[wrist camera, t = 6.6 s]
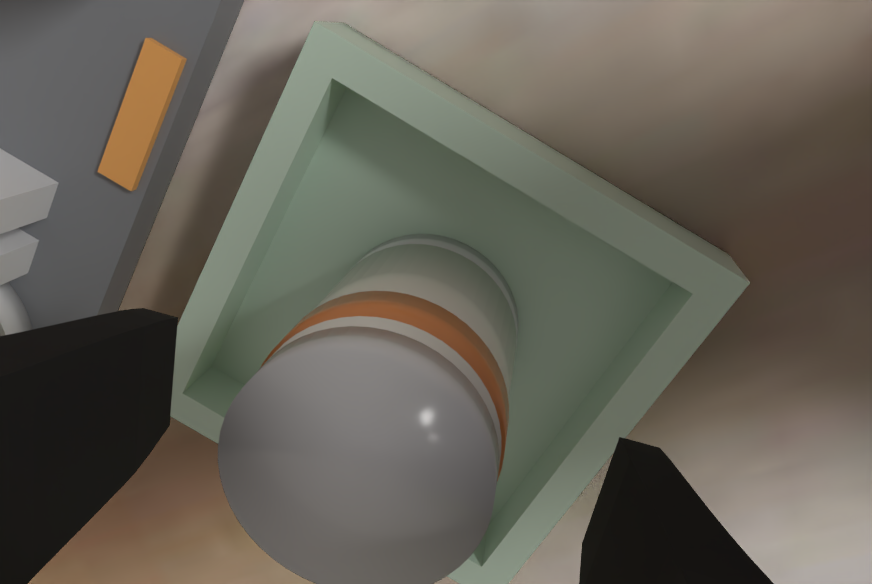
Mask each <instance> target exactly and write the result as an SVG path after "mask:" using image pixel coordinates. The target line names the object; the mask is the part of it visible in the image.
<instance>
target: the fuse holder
mask: <svg viewBox="0 0 872 584" xmlns="http://www.w3.org/2000/svg"><path fill="white" fill-rule="evenodd" d="M243 2H244V0H0V285H2V284H5V283H7V282H8V283H9V284H10V285H11V286H12V288H13V289H14V290H15V292H16V293H17V295H18V296H19V298H20V300H21V301H22V303H23V305H24V307H25V309H26V312H27V314H28V316H29V319H30V322H31V326H32V330H33V329H37V328H42V327H46V326H51V325H55V324H60V323H64V322H69V321H73V320H78V319H82V318H87V317H92V316H97V315H101V314H106V313H112V312H117V311H118V309H119V307H120V304H121V302H122V299H123V297H124V294H125V292H126V289H127V287H128V284H129V282H130V280H131V277H132V275H133V272H134V270H135V267H136V265H137V262H138V260H139V257H140V255H141V252H142V250H143V248H144V245H145V243H146V240H147V238H148V235H149V233H150V230H151V228H152V225H153V223H154V221H155V218H156V216H157V213H158V211H159V208H160V206H161V203H162V201H163V198H164V196H165V193H166V191H167V189H168V186H169V184H170V181H171V179H172V176H173V174H174V171H175V169H176V166H177V164H178V162H179V159H180V157H181V154H182V152H183V149H184V147H185V144H186V142H187V139H188V137H189V135H190V132H191V130H192V127H193V125H194V122H195V120H196V117H197V115H198V112H199V110H200V107H201V105H202V103H203V100H204V98H205V95H206V93H207V90H208V88H209V85H210V83H211V80H212V78H213V76H214V73H215V71H216V68H217V66H218V63H219V61H220V58H221V56H222V53H223V51H224V49H225V46H226V44H227V41H228V39H229V36H230V34H231V31H232V29H233V26H234V24H235V21H236V19H237V17H238V14H239V12H240V9H241V7H242V4H243Z"/></svg>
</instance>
